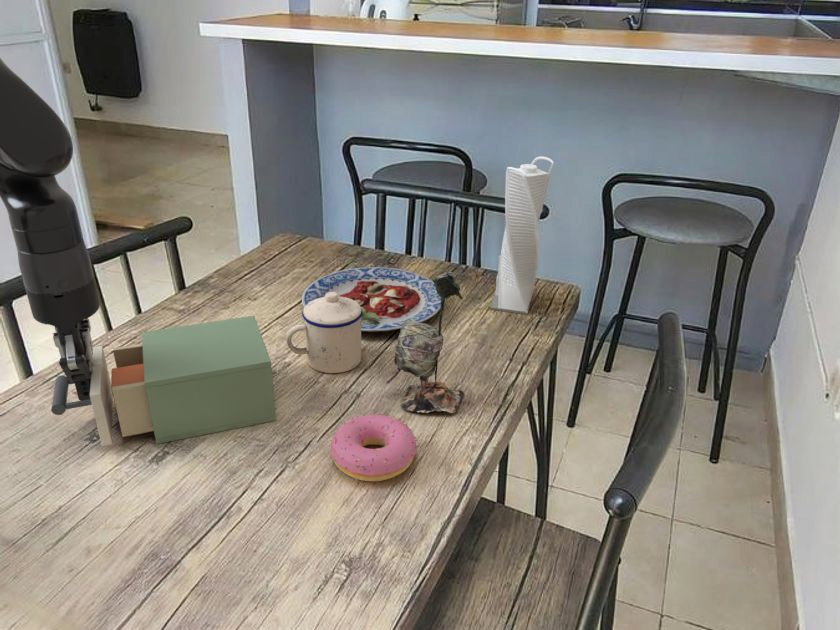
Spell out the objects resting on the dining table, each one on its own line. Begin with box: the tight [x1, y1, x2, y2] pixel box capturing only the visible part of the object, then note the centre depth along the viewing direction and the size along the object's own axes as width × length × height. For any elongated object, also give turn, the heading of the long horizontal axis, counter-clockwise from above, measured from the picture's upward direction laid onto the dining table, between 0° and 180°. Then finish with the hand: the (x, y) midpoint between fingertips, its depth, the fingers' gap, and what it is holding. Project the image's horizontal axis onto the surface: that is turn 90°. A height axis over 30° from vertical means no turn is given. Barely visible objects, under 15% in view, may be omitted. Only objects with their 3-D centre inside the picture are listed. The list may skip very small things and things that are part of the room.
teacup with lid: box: [285, 292, 363, 374], centre depth 105 cm, size 12×9×12 cm
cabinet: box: [141, 315, 277, 445], centre depth 95 cm, size 16×14×10 cm
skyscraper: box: [489, 155, 555, 315], centre depth 120 cm, size 8×8×28 cm
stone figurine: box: [385, 271, 466, 414], centre depth 94 cm, size 8×11×20 cm
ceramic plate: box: [301, 266, 442, 332], centre depth 124 cm, size 26×26×3 cm
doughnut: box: [329, 413, 418, 482], centre depth 86 cm, size 11×11×4 cm
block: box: [110, 364, 144, 417], centre depth 92 cm, size 5×5×5 cm
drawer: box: [50, 343, 154, 447], centre depth 92 cm, size 20×12×8 cm, turn 111°
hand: (88, 397), depth 90 cm, fingers closed
